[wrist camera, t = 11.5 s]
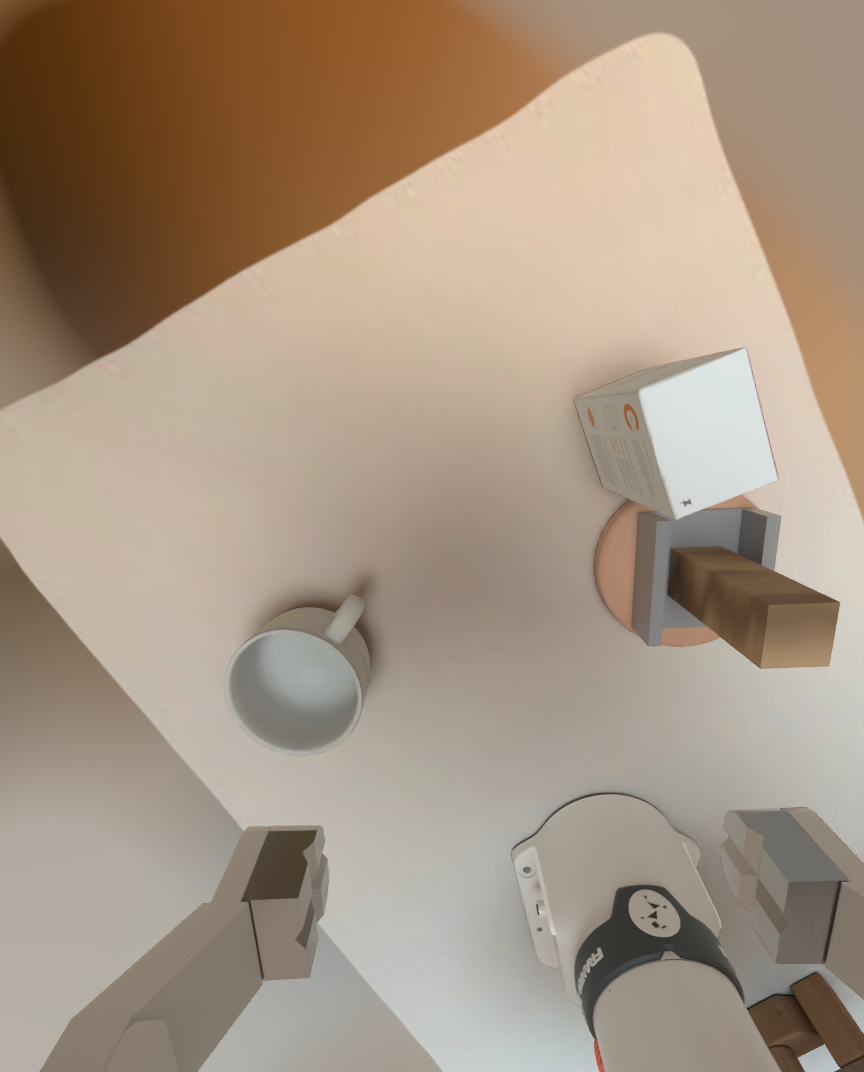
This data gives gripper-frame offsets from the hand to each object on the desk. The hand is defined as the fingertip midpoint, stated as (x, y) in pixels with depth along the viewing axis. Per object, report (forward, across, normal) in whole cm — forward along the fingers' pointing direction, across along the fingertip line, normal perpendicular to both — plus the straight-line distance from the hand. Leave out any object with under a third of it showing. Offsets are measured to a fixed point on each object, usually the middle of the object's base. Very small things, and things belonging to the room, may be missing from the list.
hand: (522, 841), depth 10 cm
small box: (+33, -14, -6) cm, 37 cm away
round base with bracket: (+33, -19, +5) cm, 39 cm away
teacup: (+33, +12, +11) cm, 37 cm away
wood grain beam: (+30, -19, +5) cm, 36 cm away
